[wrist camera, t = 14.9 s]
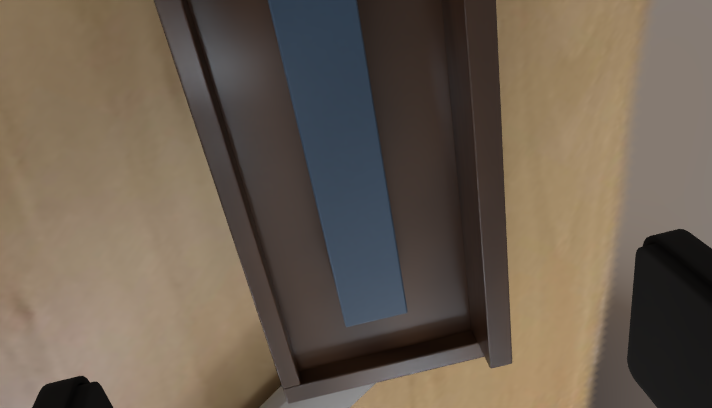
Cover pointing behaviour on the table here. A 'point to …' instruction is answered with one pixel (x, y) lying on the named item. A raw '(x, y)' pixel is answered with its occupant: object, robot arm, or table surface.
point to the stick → (342, 151)
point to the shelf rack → (403, 176)
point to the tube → (318, 399)
